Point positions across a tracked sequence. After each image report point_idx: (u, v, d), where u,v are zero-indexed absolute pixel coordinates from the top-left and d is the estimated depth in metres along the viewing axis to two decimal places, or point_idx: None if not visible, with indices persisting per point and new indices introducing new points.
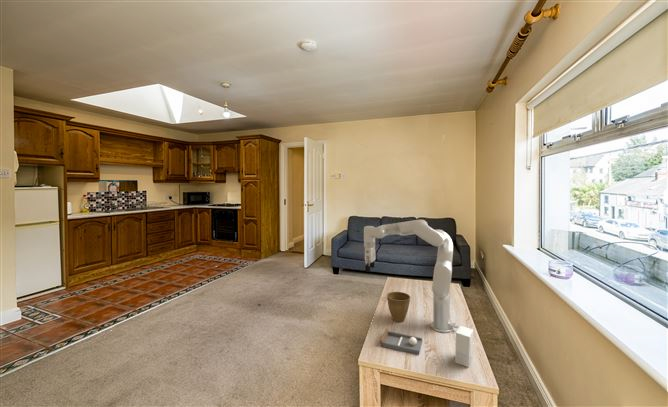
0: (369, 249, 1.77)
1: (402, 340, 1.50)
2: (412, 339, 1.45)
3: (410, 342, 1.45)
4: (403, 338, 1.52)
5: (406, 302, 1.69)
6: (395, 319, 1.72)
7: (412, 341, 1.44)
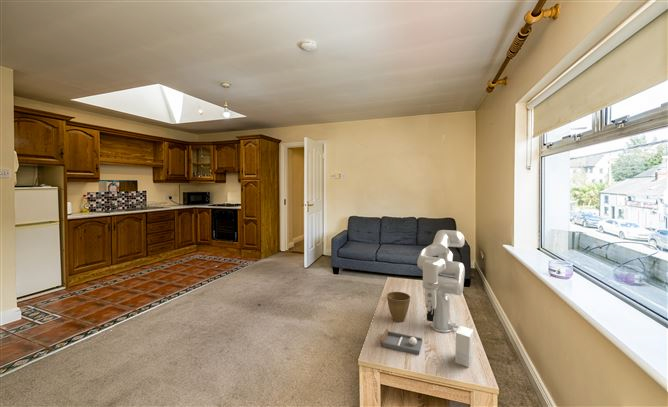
0: (432, 292, 1.36)
1: (402, 340, 1.50)
2: (412, 339, 1.45)
3: (410, 342, 1.45)
4: (403, 338, 1.52)
5: (406, 302, 1.69)
6: (395, 319, 1.72)
7: (412, 341, 1.44)
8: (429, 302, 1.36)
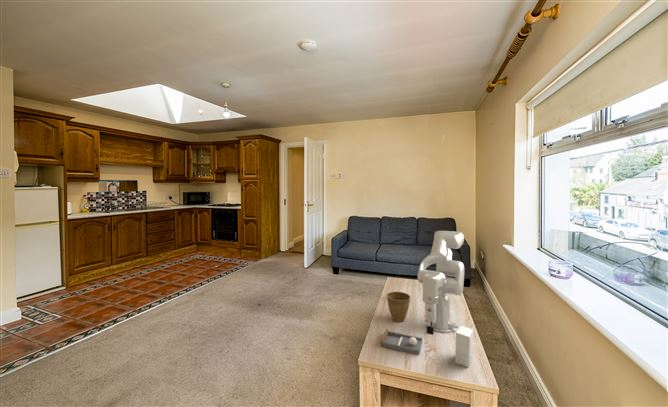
0: (432, 306, 1.36)
1: (402, 340, 1.50)
2: (412, 339, 1.45)
3: (410, 342, 1.45)
4: (403, 338, 1.52)
5: (406, 302, 1.69)
6: (395, 319, 1.72)
7: (412, 341, 1.44)
8: (429, 317, 1.37)
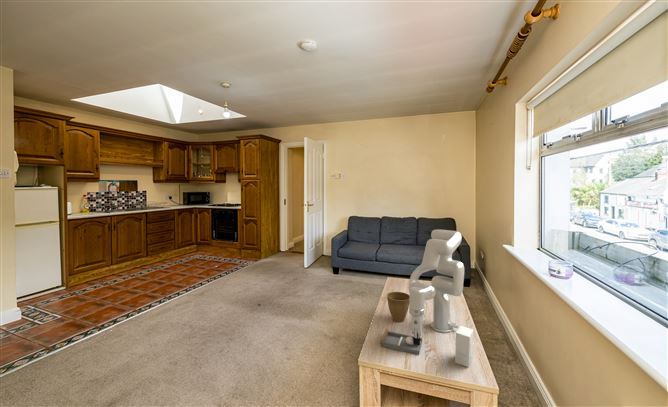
0: (418, 319, 1.39)
1: (402, 340, 1.50)
2: (407, 339, 1.46)
3: (407, 343, 1.45)
4: (403, 338, 1.52)
5: (406, 302, 1.69)
6: (395, 319, 1.72)
7: (408, 341, 1.45)
8: (415, 329, 1.40)
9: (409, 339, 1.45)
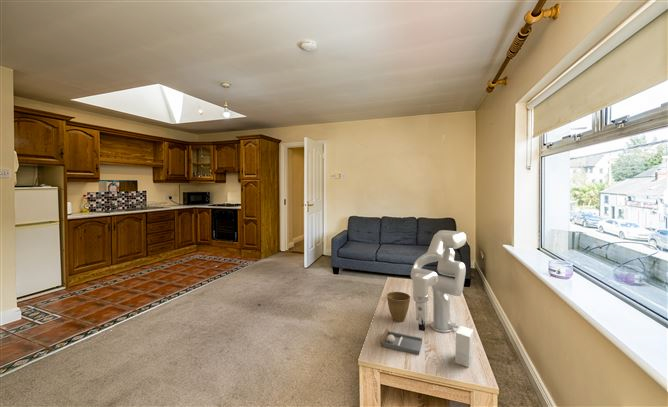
0: (422, 305, 1.39)
1: (402, 340, 1.50)
2: (391, 337, 1.49)
3: (388, 339, 1.49)
4: (403, 338, 1.52)
5: (406, 302, 1.69)
6: (395, 319, 1.72)
7: (390, 339, 1.48)
8: (420, 316, 1.40)
9: (392, 339, 1.48)
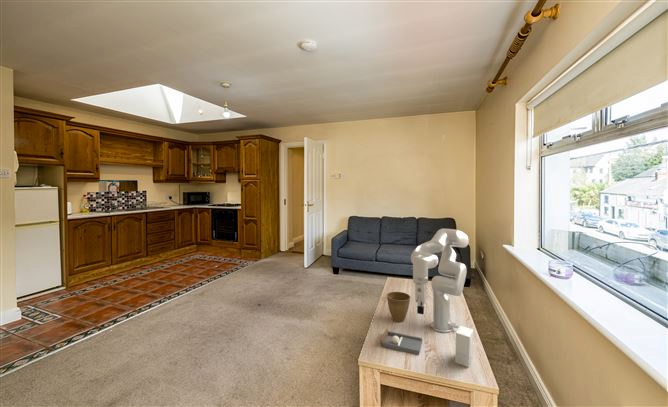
0: (421, 287, 1.38)
1: (402, 340, 1.50)
2: (397, 341, 1.47)
3: (395, 339, 1.47)
4: (403, 338, 1.52)
5: (406, 302, 1.69)
6: (395, 319, 1.72)
7: (396, 341, 1.47)
8: (419, 297, 1.39)
9: (396, 343, 1.47)
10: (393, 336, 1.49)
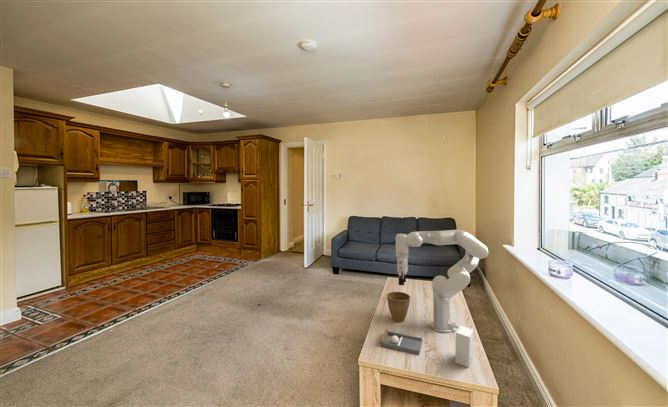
0: (402, 260, 1.60)
1: (402, 340, 1.50)
2: (397, 340, 1.47)
3: (393, 339, 1.47)
4: (403, 338, 1.52)
5: (406, 302, 1.69)
6: (395, 319, 1.72)
7: (395, 341, 1.47)
8: (400, 268, 1.60)
9: (396, 342, 1.47)
10: (392, 336, 1.49)
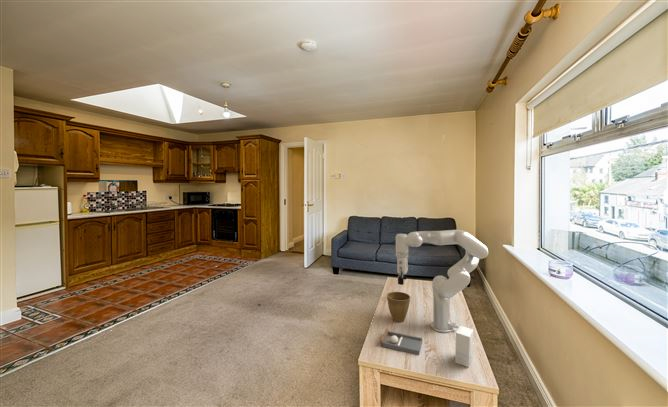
0: (402, 260, 1.60)
1: (402, 340, 1.50)
2: (396, 340, 1.47)
3: (392, 339, 1.48)
4: (403, 338, 1.52)
5: (406, 302, 1.69)
6: (395, 319, 1.72)
7: (394, 341, 1.47)
8: (400, 267, 1.60)
9: (395, 342, 1.47)
10: None
